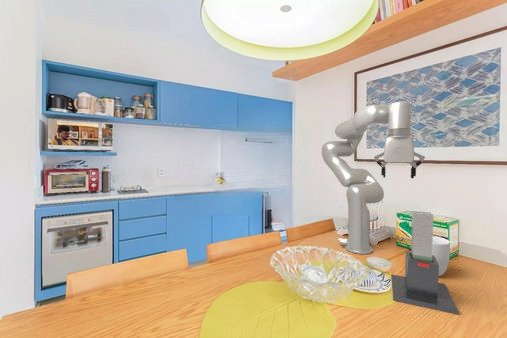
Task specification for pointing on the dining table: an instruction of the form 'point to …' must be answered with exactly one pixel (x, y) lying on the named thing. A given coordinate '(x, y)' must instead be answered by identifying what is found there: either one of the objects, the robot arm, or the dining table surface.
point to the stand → (422, 286)
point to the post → (422, 236)
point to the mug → (441, 253)
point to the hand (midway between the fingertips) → (397, 177)
